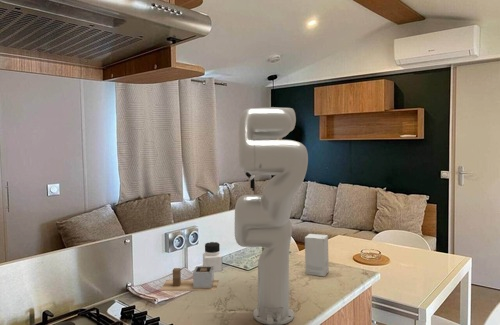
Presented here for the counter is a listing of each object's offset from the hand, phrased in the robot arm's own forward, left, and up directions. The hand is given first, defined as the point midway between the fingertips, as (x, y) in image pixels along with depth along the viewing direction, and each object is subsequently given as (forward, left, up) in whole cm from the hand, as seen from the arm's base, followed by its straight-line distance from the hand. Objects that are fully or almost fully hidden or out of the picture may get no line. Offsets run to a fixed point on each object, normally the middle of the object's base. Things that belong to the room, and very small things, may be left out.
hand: (266, 190), depth 141 cm
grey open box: (-2, +23, -35) cm, 42 cm away
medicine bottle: (+16, +22, -36) cm, 45 cm away
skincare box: (+14, -21, -36) cm, 44 cm away
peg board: (-2, +28, -36) cm, 46 cm away
